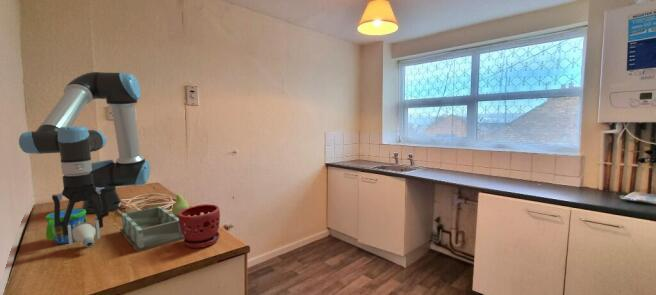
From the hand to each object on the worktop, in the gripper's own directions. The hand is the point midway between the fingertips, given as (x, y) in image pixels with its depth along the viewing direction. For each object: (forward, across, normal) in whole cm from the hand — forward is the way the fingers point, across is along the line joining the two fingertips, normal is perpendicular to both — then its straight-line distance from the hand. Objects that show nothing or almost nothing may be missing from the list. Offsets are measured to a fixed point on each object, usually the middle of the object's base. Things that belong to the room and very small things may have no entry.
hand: (84, 240), depth 98 cm
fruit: (+3, +34, +9) cm, 35 cm away
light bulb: (+1, 0, -2) cm, 2 cm away
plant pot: (+3, +29, -25) cm, 38 cm away
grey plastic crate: (+3, +19, -5) cm, 19 cm away
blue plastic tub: (+3, -3, +12) cm, 13 cm away
